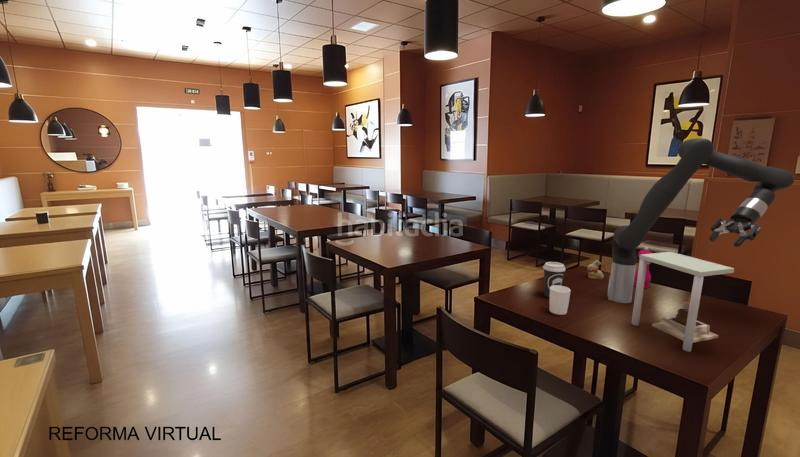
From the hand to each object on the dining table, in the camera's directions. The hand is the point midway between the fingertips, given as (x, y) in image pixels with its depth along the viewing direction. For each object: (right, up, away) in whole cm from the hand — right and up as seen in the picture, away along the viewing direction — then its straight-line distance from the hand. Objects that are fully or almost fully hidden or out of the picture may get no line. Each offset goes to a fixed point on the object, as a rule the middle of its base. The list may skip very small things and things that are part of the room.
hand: (723, 243), depth 146 cm
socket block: (-20, -32, -6) cm, 38 cm away
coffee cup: (-54, -26, +29) cm, 67 cm away
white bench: (-25, -33, -8) cm, 42 cm away
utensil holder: (-19, -32, -6) cm, 38 cm away
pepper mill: (-5, -23, +41) cm, 48 cm away
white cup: (-59, -29, +11) cm, 66 cm away
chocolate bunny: (-21, -21, +54) cm, 62 cm away
